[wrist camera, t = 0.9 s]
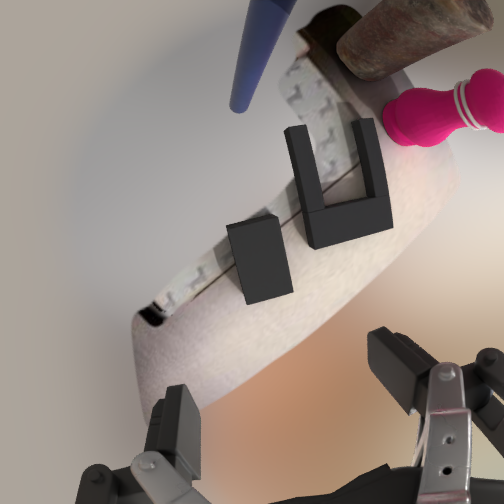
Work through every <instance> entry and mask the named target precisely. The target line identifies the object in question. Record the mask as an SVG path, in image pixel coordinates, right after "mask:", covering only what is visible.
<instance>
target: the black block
mask: <svg viewBox="0 0 504 504" xmlns="http://www.w3.org/2000/svg"><path fill="white" fill-rule="evenodd" d="M226 228H227V232H228V236H229V240H230V244H231V248H232V252H233V256H234V259H235V263H236V267H237V271H238V275H239V278H240V282H241V286H242V290H243V294H244V297H245V301H246V304H247V305H250V304H254V303H257V302H261V301H265V300H268V299H272V298H276V297H279V296H283V295H286V294H290V293H293V292H294V291H293V286H292V281H291V276H290V271H289V266H288V261H287V257H286V252H285V247H284V242H283V238H282V233H281V228H280V224H279V219H278V217H277V216H275V215H273V214H270V215H265V216H261V217H257V218H253V219H249V220H245V221H241V222H237V223H234V224H230V225H226Z"/></svg>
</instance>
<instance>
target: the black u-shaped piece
mask: <svg viewBox="0 0 504 504" xmlns="http://www.w3.org/2000/svg"><path fill="white" fill-rule="evenodd" d="M351 124H352V128H353V132H354V136H355V140H356V144H357V148H358V153H359V157H360V162H361V166H362V171H363V176H364V182H365V187H366V193H367V196H368V197H363V198H359V199H354V200H350V201H345V202H341V203H336V204H332V205H328V206H325V205H324V200H323V195H322V190H321V185H320V181H319V176H318V171H317V167H316V163H315V158H314V154H313V150H312V146H311V142H310V138H309V134H308V130H307V126H306V125H298V126H292V127H288V128H287V129H286V130H284V134H285V139H286V142H287V147H288V151H289V155H290V159H291V163H292V168H293V171H294V176H295V181H296V185H297V190H298V194H299V199H300V204H301V208H302V211H303V212H302V213H303V218H304V223H305V228H306V233H307V238H308V244H309V247H311V248H313V249H314V250H317V249H320V248H324V247H328V246H331V245H335V244H338V243H342V242H346V241H349V240H353V239H356V238H360V237H363V236H367V235H370V234H374V233H377V232H381V231H384V230H388V229H391V228H393V219H392V211H391V204H390V197H389V190H388V184H387V179H386V173H385V168H384V163H383V158H382V153H381V149H380V144H379V140H378V136H377V132H376V128H375V124H374V120H373V118H365V119H358V120H355V121H353V122H351Z"/></svg>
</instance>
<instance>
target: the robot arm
mask: <svg viewBox="0 0 504 504" xmlns="http://www.w3.org/2000/svg"><path fill="white" fill-rule="evenodd" d="M367 341H368V343H367V345H368V364H369V367H370V369H371V371H372V372H373V373H374V375H375V376H376V377H377V378H378V379H379V381H380V382H381V383H382V384H383V385H384V387H385V388H386V389H387V390H388V391H389V393H390V394H391V395H392V396H393V397H394V399H395V400H396V401H397V402H398V403H399V405H400V406H401V407H402V408H403V409H404V411H405V412H406V413H407V414H408V415H409V416H410V415H411V414H413V413H415V412H417V411H418V412H419V414H420V418H419V425H418V432H417V439H416V446H415V451H414V456H413V459H412V463H411V466H407V467H398V468H393V469H390V467H389V466H388V464H387V463H386V464H384V465H382V466H380V467H378V468H376V469H373V470H371V471H369V472H367V473H364V474H362V475H360V476H358V477H357V478H355V479H354V480H352V481H351V482H349V483H348V484H346V485H344V486H343V487H341V488H340V489H338V490H336V491H335V492H333V493H330V494H324V495H316V496H305V497H295V498H292V499H287V500H284V501H279V502H274V503H270V504H504V480H494V479H484V478H475V477H470V474H471V457H472V421H473V422H474V423H475V425H476V426H477V427H478V428H479V429H480V430H481V431H482V433H483V434H484V435H485V436H486V437H487V438H488V440H489V441H490V442H491V443H492V444H493V445H494V447H495V448H496V449H497V450H498V451H499V453H500V454H501V455H502V456H503V458H504V405H503V404H502V403H501V402H500V401H499V400H498V399H497V398H496V397H495V396H494V395H493V392H495V393H496V394H497V395H499V396H500V397H501V398H502V399H503V400H504V353H503V352H501V351H500V350H498V349H495V348H485V349H483V350H481V351H480V352H479V353H478V354H477V357H476V361H475V362H473V363H470V364H468V365H465V366H461V367H459V366H458V365H457V364H455V363H452V362H442V363H439V362H438V361H437V360H436V359H434V358H433V357H432V356H431V355H430V354H428V353H427V352H426V351H425V350H424V349H422V348H421V347H419V345H417V344H416V343H414V341H413V340H411V339H410V338H409V337H408V336H406V335H403V334H400V333H397V332H396V333H394V334H393V333H392V332H391V331H389V330H388V329H387V328H386V327H384V326H383V327H380V328H378V329H376V330H373V331H371V332H369V333H368V335H367ZM200 446H201V418H200V413H199V410H198V408H197V406H196V404H195V402H194V400H193V398H192V396H191V394H190V392H189V390H188V388H187V386H186V385H185V384H181V385H175V386H169V387H167V391H166V396H165V399H159V400H158V402H157V403H156V404H155V406H154V407H153V410H152V414H151V419H150V426H149V428H148V433H147V438H146V443H145V448H144V452H143V453H141V454H139V455H137V456H136V457H135V458H134V459H133V461H132V463H131V466H129V467H126V468H121V469H118V470H113V471H111V470H110V469H109V468H108V467H107V466H105V465H103V464H94V465H91V466H90V467H88V468H87V469H86V470H85V471H84V472H83V474H82V477H81V481H80V485H79V489H78V493H77V498H76V502H75V504H211V503H210V502H209V501H208V500H207V499H206V498H205V497H203V496H202V495H201V494H200V493H199V492H198V491H197V490H196V489H194V488H193V487H192V480H200V479H201V447H200Z"/></svg>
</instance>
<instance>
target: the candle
mask: <svg viewBox="0 0 504 504" xmlns="http://www.w3.org/2000/svg"><path fill="white" fill-rule="evenodd" d="M493 23H494V18H493V14H492V12H491V9H490V8H489V6H488V4H487V2H486V1H485V0H382V1H381V2H380V3H379V4H378V5H377V6H376V7H375V8H373V9H372V10H371V11H370V12H368V13H367V14H366V15H365V16H364V17H363V18H362V19H360V20H359V21H358V22H357V23H356V24H355V25H354V26H352V27H351V28H350V29H349V30H348V31H347V32H346V33H345V34H344V35H343V36H342V37H341V38H340V39H339V41H338V42H337V45H336V48H337V54H338V55H339V58H340V59H341V60H342V62H344V63H345V65H346V66H347V67H348V68H349V69H350V71H352V72H353V74H355V75H356V76H357V77H359V78H360V79H364V80H367V81H379V80H381V79H384V78H386V77H388V76H389V75H391V74H393V73H395V72H397V71H399V70H401V69H403V68H405V67H407V66H409V65H411V64H413V63H415V62H417V61H419V60H421V59H423V58H425V57H427V56H429V55H431V54H434V53H436V52H438V51H440V50H442V49H445V48H447V47H450V46H452V45H454V44H457V43H459V42H461V41H464V40H466V39H469V38H472V37H475V36H477V35H480V34H482V33H485V32H488V31H490V30H492V27H493Z"/></svg>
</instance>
